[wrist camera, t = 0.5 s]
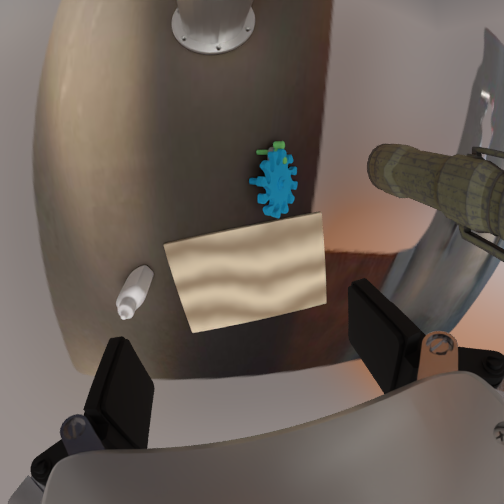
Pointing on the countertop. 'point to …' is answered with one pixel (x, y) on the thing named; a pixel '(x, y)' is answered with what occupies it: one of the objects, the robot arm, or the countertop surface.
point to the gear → (276, 180)
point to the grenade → (446, 187)
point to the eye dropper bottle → (134, 291)
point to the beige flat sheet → (250, 271)
